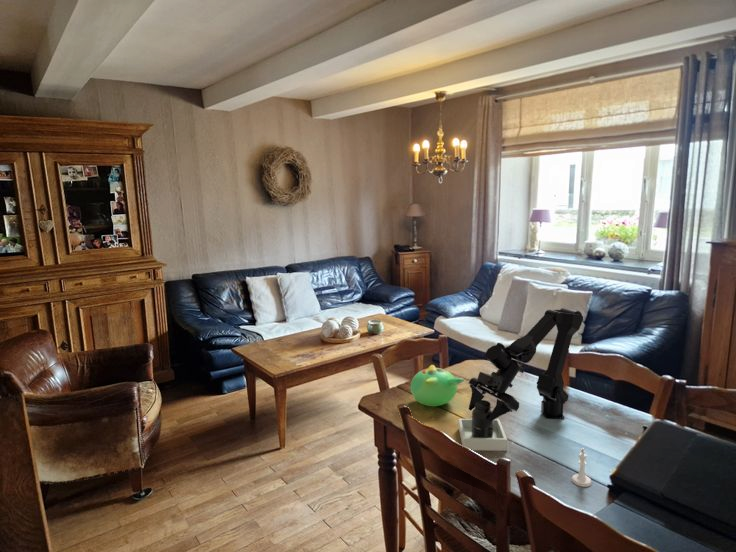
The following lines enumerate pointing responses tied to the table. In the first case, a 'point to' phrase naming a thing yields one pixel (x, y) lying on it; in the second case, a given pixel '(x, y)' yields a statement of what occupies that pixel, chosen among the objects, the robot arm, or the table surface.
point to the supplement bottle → (482, 420)
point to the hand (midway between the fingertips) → (478, 415)
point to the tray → (483, 443)
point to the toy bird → (434, 386)
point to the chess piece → (582, 472)
